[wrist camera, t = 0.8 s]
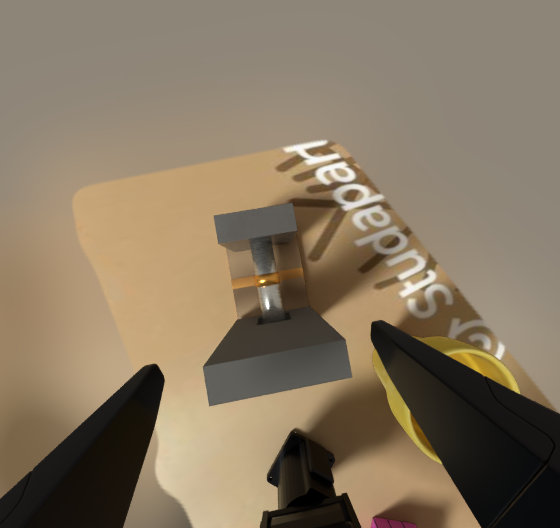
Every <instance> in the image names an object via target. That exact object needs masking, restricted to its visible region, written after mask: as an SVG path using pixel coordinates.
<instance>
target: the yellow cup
mask: <svg viewBox="0 0 560 528" xmlns="http://www.w3.org/2000/svg"><path fill="white" fill-rule="evenodd" d="M412 337H414V338H416V339H418V340H420V341H422V342H424V343H425V344H427V345H429V346H431V347H433V348H435V349H436V350H438V351H440V352H442V353H444V354H446V355H448V356H449V357H451V358H453V359H455V360H457V361H459V362H460V363H462V364H464V365H466V366H468V367H470V368H472V369H473V370H475V371H477V372H479V373H481V374H482V375H483V376H487V377H488V378H490V379H492V380H494V381H496V382H498V383H499V384H501V385H503V386H505V387H507V388H509V389H511V390H513V391H515V392H517V393H519V394H520V390H519V387H518V385H517V382H516V380H515V378H514V376H513V375H512V373H511V372H510V370H509V369H508V368H507V367H506V366H505V365H504V364H503V363H502V362H501V361H500V360H499V359H497V358H496V357H495V356H493V355H492V354H490V353H488V352H486V351H484V350H482V349H479V348H477V347H474V346H472V345H469V344H466V343H464V342H461V341H458V340H455V339H451V338H447V337H440V336H434V337H427V338H421V337H415V336H412ZM373 365H374V369H375V371H376V373H377V375H378V377H379V378H380V380H381V382H382V384H383V386H384V388H385V389H386V391H387V398H388V402H389V405H390V408H391V410H392V412H393V414H394V416H395V417H396V419H397V420H398V422H399V423H400V425H401V426H402V427H403V429H404V430H405V431H406V433H407V434H408V435H409V436H410V438H411V439H412V440H413V441H414V443H415V444H416V445H417V446H418V447H419V448H420V449H421V450H422V451H423V452H424V453H425V454H426V455H427V456H429V457H430V458H431V459H433V460H435V461H436V462H438V463H440V464H442V463H441V461H440V459H439V458H438V456H437V454H436V453H435V451H434V449H433V448H432V446H431V445H430V443H429V441H428V440H427V438H426V436H425V435H424V433H423V432H422V430H421V428H420V427H419V425H418V423H417V422H416V420H415V419H414V417H413V415H412V414H411V412H410V410H409V409H408V407H407V405H406V404H405V402H404V401H403V399H402V397H401V396H400V394H399V392H398V391H397V389H396V388H395V386H394V384H393V383H392V381H391V379H390V377H389V376H388V374H387V372H386V370H385V368H384V366H383V364H382V362H381V359H380V357H379V355H378V353H377V351H376V349H374V352H373ZM520 395H521V394H520Z"/></svg>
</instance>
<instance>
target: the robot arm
mask: <svg viewBox="0 0 560 528" xmlns="http://www.w3.org/2000/svg"><path fill="white" fill-rule="evenodd" d="M371 341H372V343H373V345H374V347H375V349H376V351H377V353H378V355H379V357H380V359H381V362H382V364H383V366H384V368H385V370H386V372H387V374H388V376H389V377H390V379H391V381H392V383H393V384H394V386H395V388H396V389H397V391H398V392H399V394H400V396H401V397H402V399H403V401H404V402H405V404H406V405H407V407H408V409H409V410H410V412H411V414H412V415H413V417H414V419H415V420H416V422H417V423H418V425H419V427H420V428H421V430H422V432H423V433H424V435H425V436H426V438H427V440H428V441H429V443H430V445H431V446H432V448H433V449H434V451H435V453H436V454H437V456H438V458H439V459H440V461H441V463H442V464H443V466H444V467H445V469H446V471H447V472H448V474H449V476H450V477H451V479H452V480H453V482H454V484H455V485H456V487H457V489H458V490H459V492H460V493H461V495H462V497H463V498H464V500H465V502H466V503H467V505H468V507H469V508H470V510H471V511H472V513H473V515H474V516H475V518H476V520H477V521H478V523H479V524H480V526H481V528H560V414H559V413H557V412H555V411H553V410H551V409H549V408H547V407H545V406H543V405H541V404H539V403H537V402H535V401H532V400H530V399H528V398H526V397H524V396H522V395H520V394H519V393H517V392H515V391H513V390H511V389H509V388H507V387H505V386H503V385H501V384H499V383H498V382H496V381H494V380H492V379H490V378H488V377H487V376H483V375H482V374H481V373H479V372H477V371H475V370H473V369H472V368H470V367H468V366H466V365H464V364H462V363H460V362H459V361H457V360H455V359H453V358H451V357H449V356H448V355H446V354H444V353H442V352H440V351H438V350H436V349H435V348H433V347H431V346H429V345H427V344H425V343H424V342H422V341H420V340H418V339H416V338H414V337H412V336H411V335H409V334H407V333H405V332H403V331H401V330H400V329H398V328H396V327H394V326H392V325H390V324H388V323H387V322H385V321H383V320H379V321H373V322H372V324H371ZM164 382H165V379H164V375H163V374H162V372H161V370H160V368H159V367H158V365H157V364H150V365H146V366H144V367H142V368H141V369H140V370H139V371H138V372H137V373H136V374H135V375H134V376H133V377H132V378H131V379H130V380H128V381H127V382H126V383H125V384H124V385H123V386H122V387H121V388H120V389H119V390H118V391H117V392H116V393H114V394H113V395H112V396H111V397H110V398H109V399H108V400H107V401H106V402H105V403H104V404H103V405H101V406H100V407H99V408H98V409H97V410H96V411H95V412H94V413H93V414H92V415H91V416H90V417H89V418H87V420H85V421H84V422H83V423H82V424H81V425H80V426H79V427H78V428H77V429H75V430H74V431H73V432H72V433H71V434H70V435H69V436H68V437H67V438H66V439H65V440H64V441H63V442H61V443H60V444H59V445H58V446H57V447H56V448H55V449H54V450H53V451H52V452H51V453H50V454H48V456H46V457H45V458H44V459H43V460H42V461H41V462H40V463H39V464H38V465H37V466H35V468H34V469H33V471H30V472H29V473H28V474H27V475H26V476H25V477H24V478H23V479H21V480H20V481H19V482H18V483H17V484H16V485H15V486H14V487H13V488H12V489H11V490H9V491H8V492H7V493H6V494H5V495H4V496H3V497H2V498H1V499H0V528H123V526H124V522H125V519H126V516H127V513H128V510H129V507H130V503H131V500H132V497H133V494H134V491H135V487H136V484H137V481H138V478H139V474H140V472H141V468H142V465H143V462H144V459H145V456H146V453H147V449H148V446H149V443H150V440H151V437H152V433H153V430H154V427H155V423H156V419H157V415H158V410H159V406H160V401H161V396H162V392H163V387H164ZM292 436H294V438H291V437H292ZM330 458H332V459H330ZM334 462H335V458H334V455H333V454H332V453H330V452H329V451H327V450H325V448H323V447H322V446H320V445H318V444H316V443H314V442H313V441H311V440H309V439H306V438H304V437H302V436H300V435H298V434H297V433H295V432H291V433H290V434H289V435H288V437H287V439H286V441H285V443H284V445H283V446H282V448H281V450H280V452H279V454H278V455H277V457H276V459H275V461H274V463H273V465H272V466H271V468H270V470H269V472H268V474H267V481H268V482H269V483H270V484H272V485H274V486H276V487H278V510H274V511H270V512H269V511H263V516H262V521H261V523H260V528H361V526H360V523H359V521H358V518H357V516H356V514H355V511H354V509H353V506H352V504H351V502H350V499H349V497H348V495H347V493H342V495H340V496H336V493H335V489H334V486H333V483H334V478H333V475H332V472H331V468H332V466H333V464H334ZM270 477H272V478H270Z"/></svg>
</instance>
